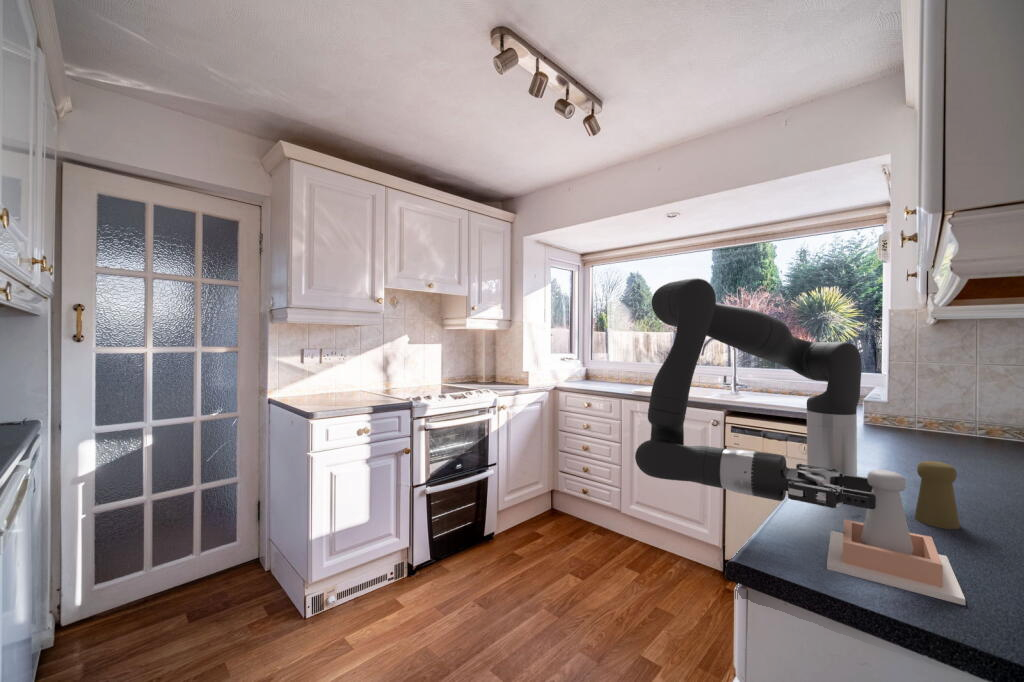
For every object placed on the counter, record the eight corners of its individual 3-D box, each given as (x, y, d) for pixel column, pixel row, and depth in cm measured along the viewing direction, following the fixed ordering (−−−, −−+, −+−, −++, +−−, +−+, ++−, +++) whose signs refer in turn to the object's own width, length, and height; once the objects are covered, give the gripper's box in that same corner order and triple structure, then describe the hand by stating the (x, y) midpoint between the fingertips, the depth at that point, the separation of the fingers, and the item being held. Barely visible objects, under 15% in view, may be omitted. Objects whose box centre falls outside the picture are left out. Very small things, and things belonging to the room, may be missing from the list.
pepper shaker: (968, 526, 77) (968, 465, 77) (947, 531, 75) (946, 468, 75) (927, 513, 83) (927, 456, 83) (906, 517, 81) (906, 459, 81)
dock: (831, 535, 73) (831, 513, 73) (946, 561, 65) (946, 536, 65) (827, 569, 63) (827, 542, 63) (965, 605, 54) (965, 575, 54)
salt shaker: (907, 574, 60) (906, 480, 60) (856, 557, 64) (855, 470, 64) (917, 561, 63) (917, 473, 63) (868, 546, 68) (868, 464, 68)
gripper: (744, 460, 69) (876, 480, 59) (759, 444, 80) (872, 458, 70) (744, 507, 69) (877, 535, 59) (759, 484, 80) (872, 504, 70)
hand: (874, 493), depth 65 cm, fingers open, 8 cm apart
